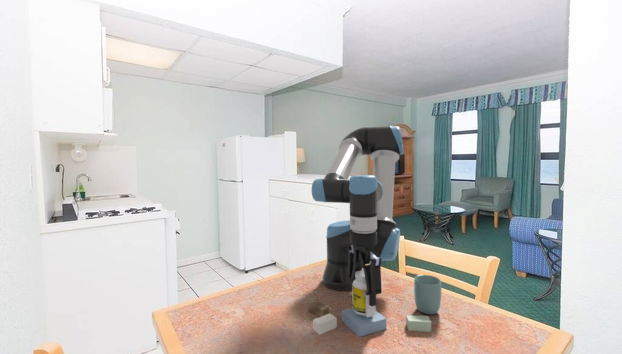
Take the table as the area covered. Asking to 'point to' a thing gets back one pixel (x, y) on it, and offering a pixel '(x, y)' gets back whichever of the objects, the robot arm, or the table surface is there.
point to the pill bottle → (359, 293)
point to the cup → (427, 293)
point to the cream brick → (324, 323)
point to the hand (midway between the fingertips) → (363, 309)
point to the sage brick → (418, 323)
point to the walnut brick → (318, 308)
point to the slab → (363, 322)
